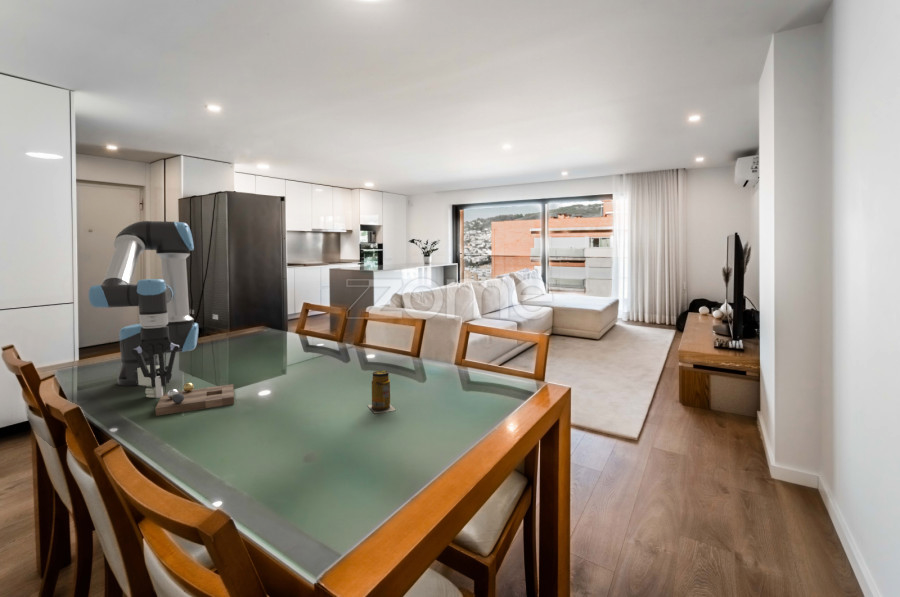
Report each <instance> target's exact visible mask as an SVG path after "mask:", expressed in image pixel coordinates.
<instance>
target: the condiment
mask: <svg viewBox="0 0 900 597" xmlns="http://www.w3.org/2000/svg"><path fill="white" fill-rule="evenodd" d="M389 374H390V373H389V371H387V370H383V369H382V370H375V371H373V373H372V380H371V404H367V406H368V408H369V409H370V410H371V412H372V413H373V414H382V413H389V412H393V411H396V408H395V407H394V406H392V405H391V380H390V376H389Z"/></svg>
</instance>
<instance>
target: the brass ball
mask: <svg viewBox="0 0 900 597" xmlns="http://www.w3.org/2000/svg"><path fill="white" fill-rule="evenodd" d="M194 386H195V385H194V384H193V383H192V382H186V383H184V385H183V387H182V389H183V391H186V392H190V391H192V390H193V389H195V387H194Z"/></svg>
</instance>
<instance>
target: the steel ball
mask: <svg viewBox="0 0 900 597" xmlns="http://www.w3.org/2000/svg"><path fill="white" fill-rule="evenodd" d="M166 393H167V396H168V397H169V398H170V399H172V398H173V396H174V395H175V394H177V393H179V392H178V390H177V389H176V388H172V389H170V390H168V392H166Z"/></svg>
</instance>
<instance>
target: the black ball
mask: <svg viewBox="0 0 900 597" xmlns="http://www.w3.org/2000/svg"><path fill="white" fill-rule="evenodd" d="M172 400H173V402H174V403H181V402H182V401H183V400H184V396H183V394H181V393H177V394H175V395H174V396H173V398H172Z"/></svg>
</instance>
